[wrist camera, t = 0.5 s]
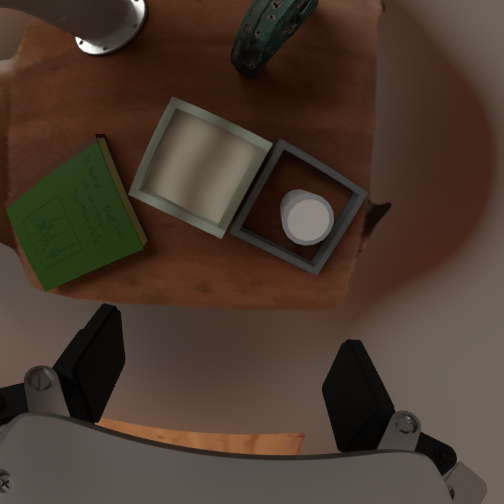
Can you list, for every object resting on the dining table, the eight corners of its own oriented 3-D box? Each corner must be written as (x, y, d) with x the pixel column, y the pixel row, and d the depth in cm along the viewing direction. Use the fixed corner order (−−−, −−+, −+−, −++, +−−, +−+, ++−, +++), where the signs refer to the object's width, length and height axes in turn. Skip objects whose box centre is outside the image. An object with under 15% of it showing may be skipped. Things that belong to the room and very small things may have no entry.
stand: (153, 180, 39) (128, 194, 29) (189, 107, 35) (172, 96, 26) (225, 215, 42) (221, 238, 32) (264, 143, 38) (272, 143, 28)
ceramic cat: (286, -19, 27) (313, -94, 9) (323, -1, 29) (371, -67, 10) (223, 70, 34) (210, 13, 15) (264, 89, 35) (287, 45, 16)
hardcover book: (105, 134, 36) (94, 134, 33) (150, 240, 43) (143, 249, 40) (13, 200, 39) (2, 205, 35) (52, 283, 46) (43, 292, 42)
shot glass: (328, 198, 41) (343, 209, 35) (305, 236, 44) (317, 254, 37) (289, 176, 40) (299, 184, 33) (267, 217, 42) (272, 231, 36)
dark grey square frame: (230, 228, 42) (229, 233, 40) (278, 139, 38) (281, 139, 35) (313, 268, 46) (316, 275, 43) (361, 189, 41) (368, 192, 39)
